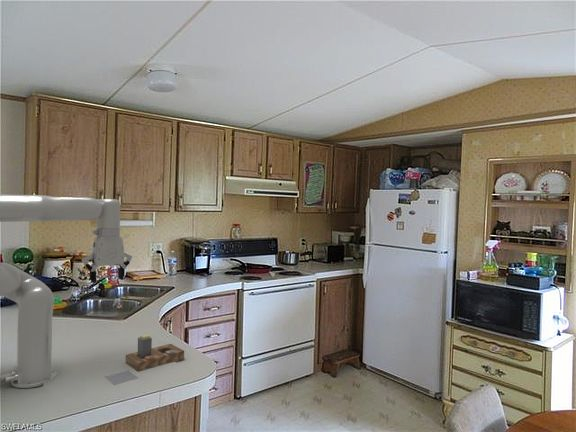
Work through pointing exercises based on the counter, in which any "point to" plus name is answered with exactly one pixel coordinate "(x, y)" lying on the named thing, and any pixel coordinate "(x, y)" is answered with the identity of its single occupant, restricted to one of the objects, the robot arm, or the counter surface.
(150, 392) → the counter surface
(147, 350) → the plug
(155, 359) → the socket board
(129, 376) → the mat
